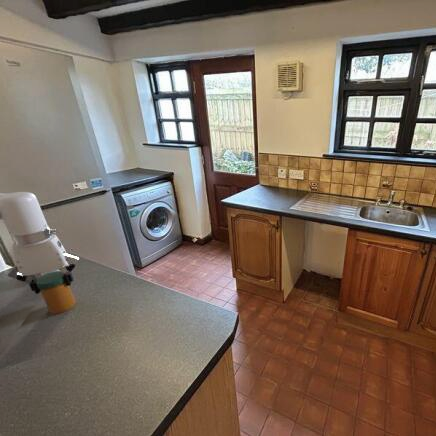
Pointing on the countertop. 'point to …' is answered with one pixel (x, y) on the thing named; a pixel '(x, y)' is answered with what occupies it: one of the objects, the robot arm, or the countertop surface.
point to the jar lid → (50, 280)
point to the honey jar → (58, 298)
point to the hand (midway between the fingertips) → (54, 286)
